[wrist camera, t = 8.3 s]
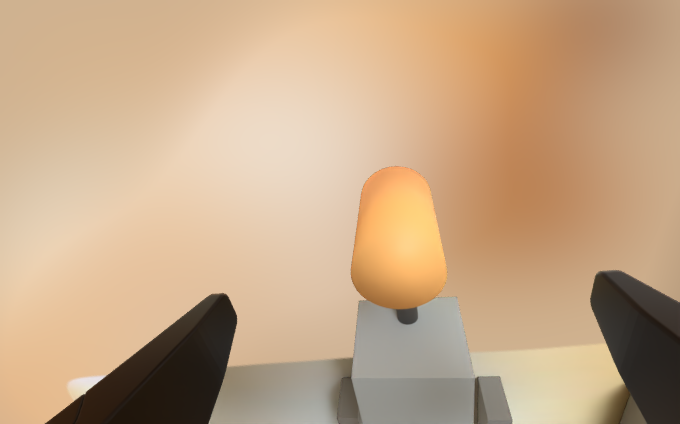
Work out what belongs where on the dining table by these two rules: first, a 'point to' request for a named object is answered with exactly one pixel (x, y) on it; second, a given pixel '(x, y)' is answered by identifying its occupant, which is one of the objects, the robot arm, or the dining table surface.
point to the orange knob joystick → (406, 310)
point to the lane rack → (490, 404)
